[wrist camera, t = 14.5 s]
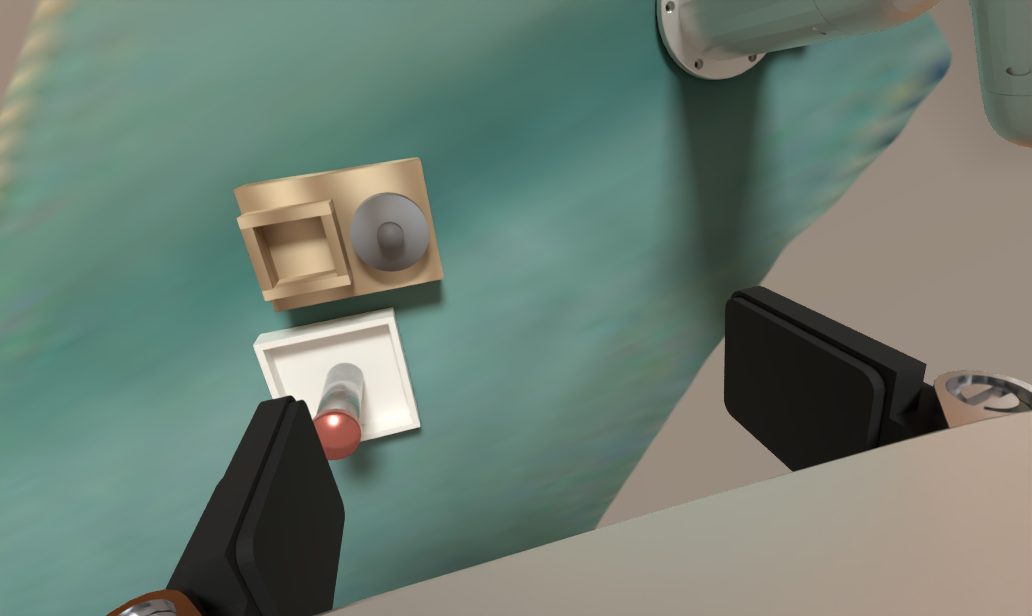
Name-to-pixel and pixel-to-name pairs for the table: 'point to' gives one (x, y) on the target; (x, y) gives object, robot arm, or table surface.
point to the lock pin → (340, 411)
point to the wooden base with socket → (339, 233)
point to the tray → (353, 339)
